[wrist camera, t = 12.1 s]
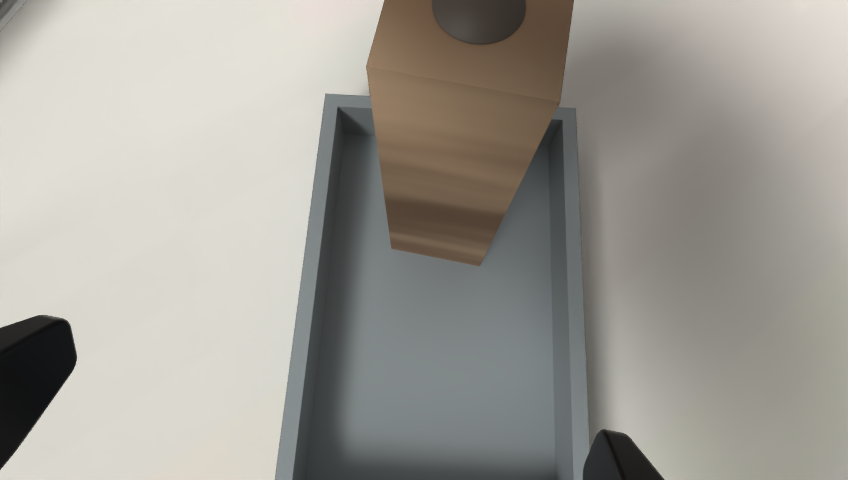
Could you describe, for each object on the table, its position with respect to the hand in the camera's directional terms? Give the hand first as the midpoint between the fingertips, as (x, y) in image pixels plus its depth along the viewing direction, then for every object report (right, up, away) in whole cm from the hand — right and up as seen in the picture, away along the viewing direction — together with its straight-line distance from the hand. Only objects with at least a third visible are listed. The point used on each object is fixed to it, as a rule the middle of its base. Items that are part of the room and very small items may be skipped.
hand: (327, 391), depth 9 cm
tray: (+2, 0, +14) cm, 14 cm away
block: (+2, +4, +15) cm, 16 cm away
